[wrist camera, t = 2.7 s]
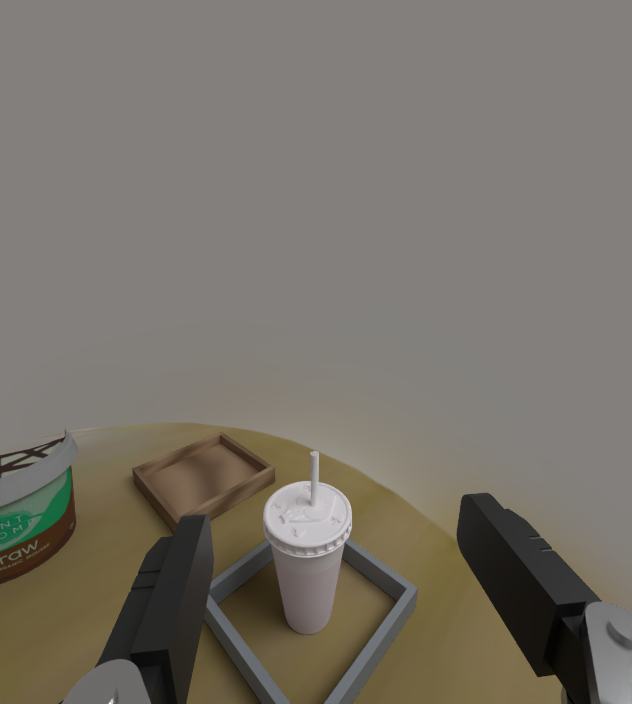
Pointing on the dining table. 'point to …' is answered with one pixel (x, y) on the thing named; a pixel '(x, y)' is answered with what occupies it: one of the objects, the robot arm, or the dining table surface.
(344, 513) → the smoothie
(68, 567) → the dining table surface
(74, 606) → the dining table surface
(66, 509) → the food container
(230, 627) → the grey square frame
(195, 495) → the walnut tray
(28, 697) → the dining table surface
